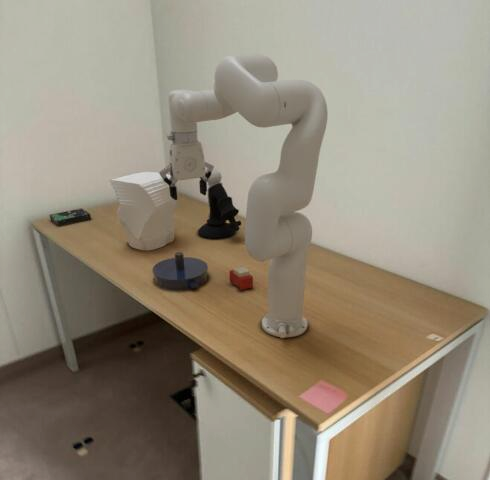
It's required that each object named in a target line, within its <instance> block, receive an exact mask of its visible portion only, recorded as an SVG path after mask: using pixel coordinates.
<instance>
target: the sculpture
mask: <svg viewBox="0 0 490 480" xmlns="http://www.w3.org/2000/svg"><path fill="white" fill-rule="evenodd" d="M222 177H223V176H222V174H221V172H220V171H219V170H217V169H213V171H212V173H211V176H210V177H209V179H208V181H207V191H206V193H207V202H208V207H209V213H208V216H207V217H208V218H207V220H206V223H204V224H203V225H201V226H200V227H199V228H198V229H197V235H198V236H199V237H201V238H203V239H207V240H225V239H228V238H231V237H233V236H234V235H235V234H236V232H238V231H239V230H240V227H241V226H242V221H241V220H236V218H235V217H237V216H238V214H239V212H240V210H239V209H238V208H236V207H235V206H234V203H233V197H231V196H228V193H227V191H226V189H225V187H224V186H223V183H222V182H221V181H222V179H223V178H222ZM227 221H228V222H227Z"/></svg>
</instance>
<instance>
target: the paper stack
mask: <svg viewBox="0 0 490 480" xmlns="http://www.w3.org/2000/svg"><path fill="white" fill-rule="evenodd" d="M166 176H167V178H168V179H170V177H171V175H170V174H168V173H167V174H166ZM109 182H110V185H111V186H112V189H113V190H114V192H115V194H116V198H117V201H118V204H119V206H118V208H117V211H116V214H115V215H116V218H118V219H119V221H120V224H121V227H122V229H123V231H124V234H125V237H126V240H127V243H128V245H129V246H130V247H131V248H133V249H136V250H139V251H149V252H150V251H153V250H155V249H159V248H163V247H165V246H166V245H167V244H170V243H172V242H173V241H174V240H175V225H174V224H175V213H176V210H177V206H178V201H179V191H178V190H177V200H174V199H173V198H172V197H171V196H170V189H169V185H168V184H167V183H166V182H165V181H163V179H162V177H161V176H160V174H159V172H157V171H142V172H137V173H131V174H127V175H123V176H120V177H116V178H113V179H110V180H109ZM175 186H176V187H177V188H178V182H177V183H176V184H175Z"/></svg>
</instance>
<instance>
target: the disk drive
mask: <svg viewBox="0 0 490 480" xmlns="http://www.w3.org/2000/svg"><path fill="white" fill-rule="evenodd" d="M49 219H50V221H51V222H52V223H53V224H55V225H56V226H58V227H60V226H61V227H62V226H66V225H70V224H76V223H79V222H84V221H89V220H92V216H91V213H90V212H88V211H87V210H84V209H83V208H76V209H72V210H67V211H62V212H56V213H50V214H49Z"/></svg>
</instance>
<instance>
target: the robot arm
mask: <svg viewBox="0 0 490 480" xmlns="http://www.w3.org/2000/svg"><path fill="white" fill-rule="evenodd" d="M213 78H214V83H213V89H204V90H191V89H173V90H171V91H169V93H168V109H169V119H170V134H167V135H166V138H167V141H171V142H170V143H169V151H168V153H169V154H168V155H169V156H168V165H167V166H165V167H164V168H163V169H161V170H160V171H159V172H158V173H159V174H160V176H161V177H162V179H163V181H165V182H166V183H167V184H168V185H169V189H170V196H171V197H172V198H173V199H174V200H177V191H178V186H177V187H176V186H175V184H176V183H177V184H178V181H187V180H193V179H199V183H198V184H199V194H200V195H203V196H207V191H208V185H207V184H208V182H207V181H208V179H209V177H210V176H211V173H212V171H213V170H214V168H215V166H214V165H213V164H211V163H208V162H206V161H205V154H204V150H203V145H202V142H201V141H200V140H199V135H198V133H199V132H198V123H201V122H210V121H218V120H222V119H225V118H228V117H230V116H232V115H234V114H236V113H238V114H239V115H240V116H241V117H242V118H243V119H245V121H247V122H248V123H249V124H251V125H252V126H255V127H257V128H263V129H265V128H272V127H279V126H285V125H291V129H290V130H289V132H288V133H287V135H286V137H285V139H284V141H283V144H282V146H281V150H280V158H279V164H278V168H277V170H276V171H275V172H269V173H266V174H263V175H262V174H261V175H260V176H258V177H257V178H255V180H253V182H252V183H251V185H250V187H249V190H248V193H247V200H246V211H245V224H244V225H245V226H244V245H245V249H246V251H247V253H248V255H249V256H250V258H252V259H253V260H255V261H257V262H267V261H269V263H268V273H267V274H268V277H267V279H268V280H267V314H266V315H265V316H264V317H263V318H262V320H261V329H263V331H264V332H266V333H267V334H268V335H271V336H274V337H279V338H280V339H284V338H294V337H298V336H301V335H302V334H304V333H305V332H306V331H307V330H308V320H307V319H306V317H305V316H303V312H304V299H305V298H304V297H305V285H306V271H307V270H306V269H307V261H308V255H309V251H310V247H311V243H312V238H313V226H312V224H311V221H310V219H309V218H308V217H307V216H306V215H305V214H303V213H302V212H298V211H301V210H304V209H305V208H307V207H308V206H309V205H310V203H311V201H312V200H313V199H312V198H313V194H314V189H315V185H316V177H317V171H318V166H319V159H320V152H321V148H322V144H323V140H324V136H325V133H326V129H327V124H328V117H329V115H328V113H329V112H328V104H327V101H326V98H325V95H324V94H323V92H322V90H321V89H320V88H319V87H318V86H317V85H316V84H314V83H312V82H311V81H309V80H302V79H287V80H286V79H285V80H278V78H279V72H278V68H277V65H276V63H275V61H273V59H272V58H270V57H269V56H268V55H264V54H260V53H249V54H248V53H247V54H246V53H243V54H241V53H240V54H229V55H226V56H224V57H223V58H222V59H220V61H219V62H218V63H217V65H216V68H215V70H214V77H213ZM168 173H169V175H171V177H170V179H168V178H167V176H166V174H168Z"/></svg>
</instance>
